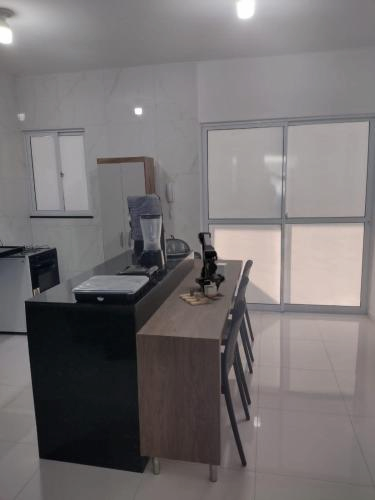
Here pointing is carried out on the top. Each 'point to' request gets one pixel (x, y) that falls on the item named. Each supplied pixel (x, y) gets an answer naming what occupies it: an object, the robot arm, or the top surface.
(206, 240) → the robot arm
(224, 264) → the supplement box
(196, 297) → the pin board
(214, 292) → the sleeve
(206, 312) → the top surface
